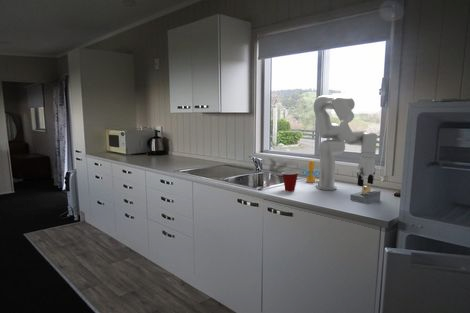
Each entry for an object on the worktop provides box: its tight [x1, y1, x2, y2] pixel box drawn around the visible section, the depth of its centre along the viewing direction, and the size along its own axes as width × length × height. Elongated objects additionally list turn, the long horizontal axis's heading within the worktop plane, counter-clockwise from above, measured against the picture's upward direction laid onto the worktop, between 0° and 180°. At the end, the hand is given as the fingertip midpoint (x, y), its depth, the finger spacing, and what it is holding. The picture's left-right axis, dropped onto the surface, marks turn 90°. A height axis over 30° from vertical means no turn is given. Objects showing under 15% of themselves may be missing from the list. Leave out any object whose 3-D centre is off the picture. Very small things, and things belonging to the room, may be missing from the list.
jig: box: [349, 189, 381, 204], centre depth 184 cm, size 11×12×5 cm
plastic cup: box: [281, 171, 299, 192], centre depth 206 cm, size 11×11×12 cm
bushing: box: [361, 185, 372, 196], centre depth 183 cm, size 4×4×8 cm
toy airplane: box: [302, 160, 320, 183], centre depth 233 cm, size 12×10×15 cm
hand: (365, 184), depth 184 cm, fingers open, 9 cm apart
